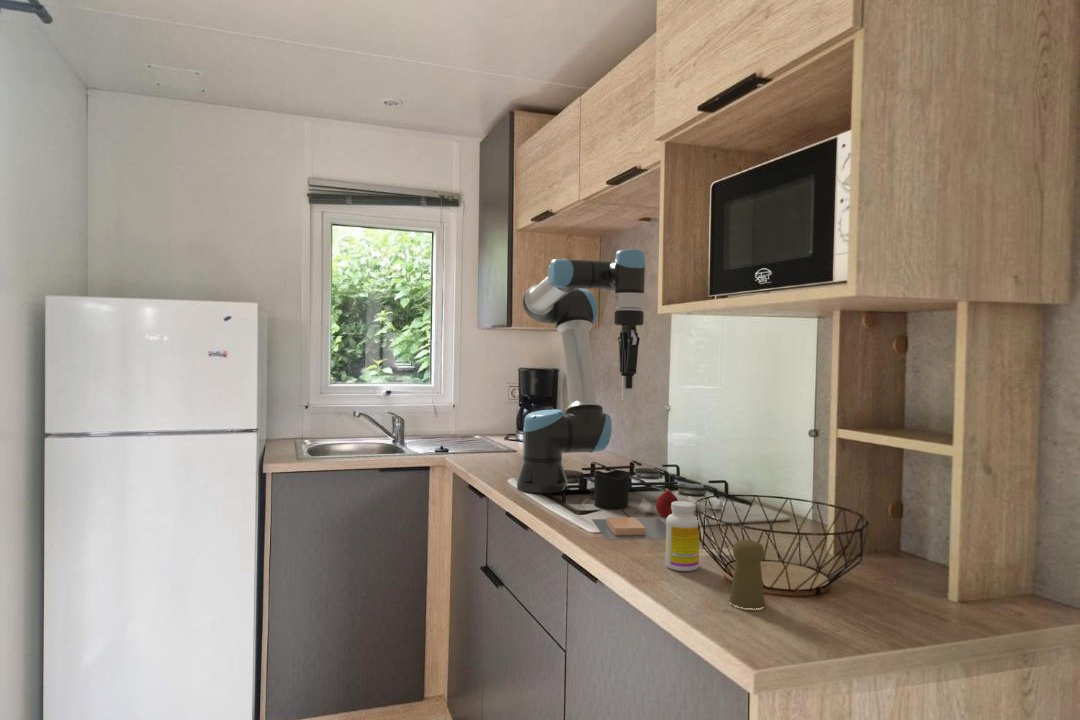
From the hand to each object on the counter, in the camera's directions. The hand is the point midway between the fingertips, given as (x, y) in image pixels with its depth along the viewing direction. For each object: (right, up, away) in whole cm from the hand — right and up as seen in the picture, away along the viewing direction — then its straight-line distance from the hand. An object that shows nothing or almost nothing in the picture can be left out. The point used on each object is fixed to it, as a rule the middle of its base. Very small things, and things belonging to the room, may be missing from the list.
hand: (627, 400), depth 182 cm
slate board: (-1, -30, -18) cm, 35 cm away
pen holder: (-4, -30, +4) cm, 30 cm away
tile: (-3, -28, -15) cm, 32 cm away
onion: (+9, -30, -6) cm, 32 cm away
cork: (+13, -32, -61) cm, 70 cm away
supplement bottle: (+6, -31, -41) cm, 52 cm away
